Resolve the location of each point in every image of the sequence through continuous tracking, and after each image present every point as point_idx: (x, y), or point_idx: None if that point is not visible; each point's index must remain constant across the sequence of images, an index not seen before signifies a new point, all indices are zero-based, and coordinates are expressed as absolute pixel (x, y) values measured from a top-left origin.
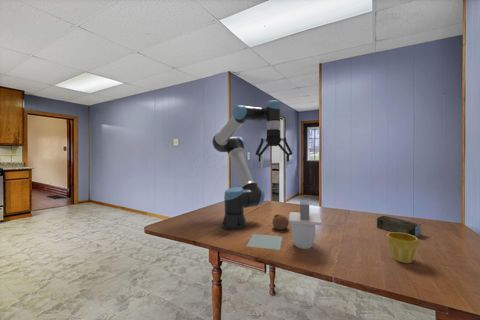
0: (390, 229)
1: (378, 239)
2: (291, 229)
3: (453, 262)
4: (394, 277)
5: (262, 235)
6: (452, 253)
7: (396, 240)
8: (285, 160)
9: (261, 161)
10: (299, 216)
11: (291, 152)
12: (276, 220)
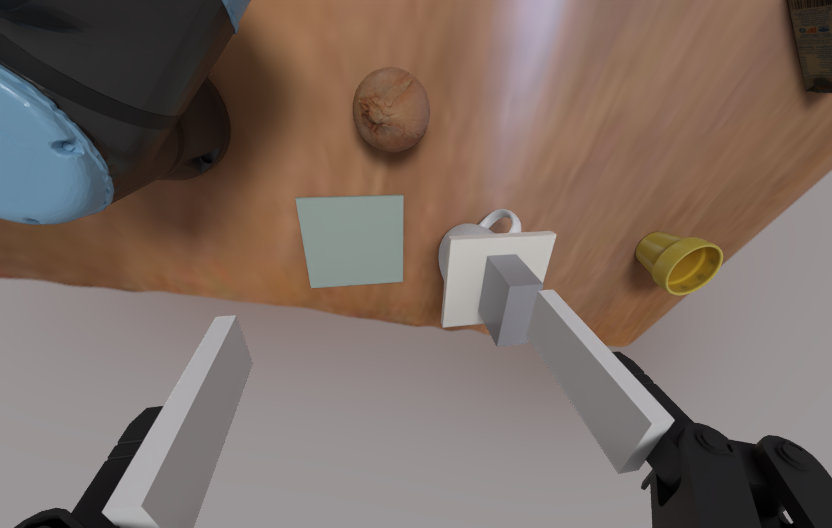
0: (799, 33)
1: (688, 136)
2: (442, 272)
3: (732, 233)
4: (588, 310)
5: (333, 202)
6: (777, 189)
7: (665, 289)
8: (574, 407)
9: (216, 444)
10: (480, 283)
11: (764, 519)
12: (377, 145)
